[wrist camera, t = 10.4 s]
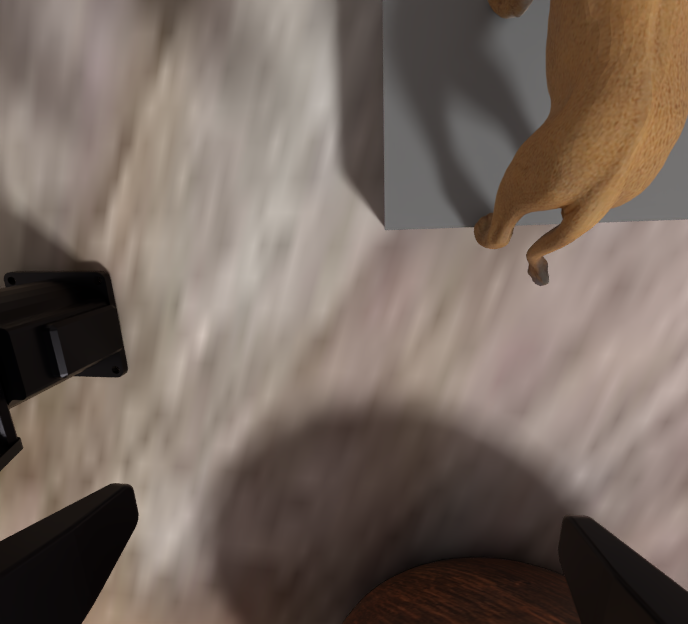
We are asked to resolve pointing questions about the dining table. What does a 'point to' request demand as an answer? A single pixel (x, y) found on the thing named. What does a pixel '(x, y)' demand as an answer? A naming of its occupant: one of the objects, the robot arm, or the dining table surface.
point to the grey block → (477, 115)
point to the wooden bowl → (469, 595)
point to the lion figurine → (595, 117)
